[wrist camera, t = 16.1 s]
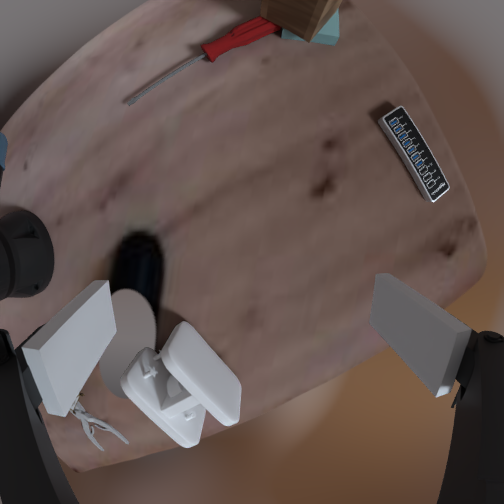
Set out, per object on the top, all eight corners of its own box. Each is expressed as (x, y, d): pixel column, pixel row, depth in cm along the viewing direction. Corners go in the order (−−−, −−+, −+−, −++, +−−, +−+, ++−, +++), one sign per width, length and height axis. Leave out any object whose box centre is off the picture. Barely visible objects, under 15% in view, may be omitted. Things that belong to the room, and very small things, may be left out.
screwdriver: (127, 99, 39) (118, 92, 35) (270, 17, 36) (271, 5, 33) (137, 116, 39) (128, 110, 36) (283, 32, 37) (285, 21, 33)
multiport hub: (395, 108, 39) (401, 104, 36) (442, 187, 41) (450, 187, 38) (375, 121, 39) (381, 117, 37) (425, 202, 41) (432, 203, 39)
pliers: (100, 453, 50) (54, 405, 48) (102, 449, 52) (57, 401, 49) (128, 446, 49) (78, 393, 47) (130, 441, 51) (82, 389, 48)
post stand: (281, 38, 37) (286, 6, 28) (283, 0, 35) (288, -33, 26) (334, 45, 37) (350, 17, 28) (333, 7, 35) (347, -23, 26)
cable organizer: (246, 383, 47) (244, 430, 35) (197, 408, 48) (186, 455, 36) (186, 314, 44) (166, 351, 33) (139, 346, 46) (111, 385, 34)
